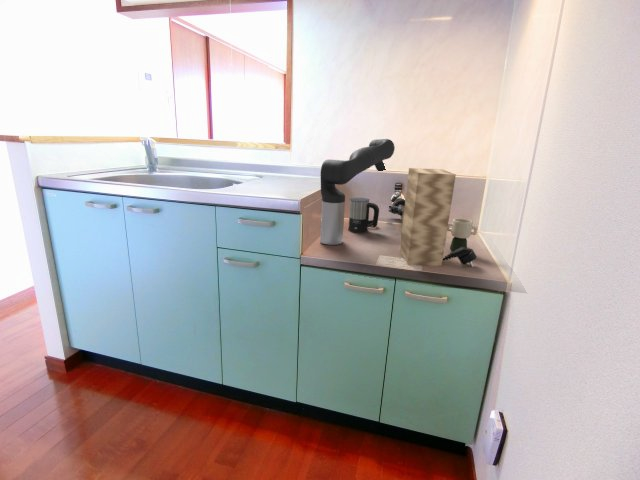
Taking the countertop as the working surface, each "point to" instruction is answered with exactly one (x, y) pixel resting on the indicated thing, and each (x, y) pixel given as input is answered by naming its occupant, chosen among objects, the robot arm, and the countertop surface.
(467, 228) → the character mug
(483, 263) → the countertop surface
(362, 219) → the milk frother
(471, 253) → the power plug
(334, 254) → the countertop surface
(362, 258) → the countertop surface
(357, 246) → the countertop surface
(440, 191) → the stand
